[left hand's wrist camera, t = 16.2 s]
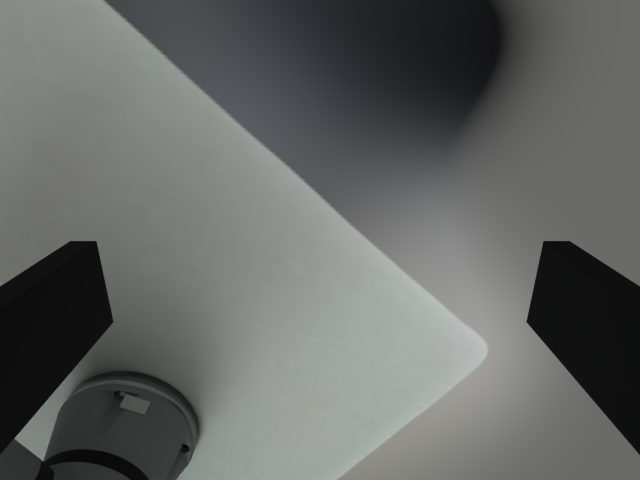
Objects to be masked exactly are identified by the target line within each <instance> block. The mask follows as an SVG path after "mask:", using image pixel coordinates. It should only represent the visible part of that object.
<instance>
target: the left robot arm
mask: <svg viewBox="0 0 640 480" xmlns="http://www.w3.org/2000/svg"><path fill="white" fill-rule="evenodd" d="M112 323H113V318H112V313H111V308H110V304H109V299H108V294H107V289H106V285H105V280H104V275H103V270H102V266H101V261H100V256H99V251H98V246H97V242H96V241H70V242H68V243H67V244H65V245H64V246H62V247H61V248H59V249H57V250H56V251H54V252H53V253H51V254H50V255H48V256H47V257H45V258H44V259H42V260H40V261H39V262H37V263H36V264H34V265H33V266H31V267H30V268H28V269H27V270H25V271H24V272H22V273H20V274H19V275H17V276H16V277H14V278H13V279H11V280H10V281H8V282H7V283H5V284H3V285H2V286H0V480H176V479H177V478H178V476H179V475H180V474H181V473H182V471H183V470H184V469H185V468H186V467H187V465H188V464H189V462H190V460H191V458H192V455H193V452H194V449H195V447H196V444H197V440H198V434H199V427H198V421H197V418H196V415H195V413H194V411H193V409H192V408H191V406H190V405H189V403H188V402H187V401H186V400H185V398H184V397H183V396H182V395H180V394H179V393H178V392H177V391H176V390H175V389H173V388H172V387H170V386H169V385H167V384H165V383H163V382H161V381H159V380H157V379H154V378H152V377H149V376H145V375H141V374H137V373H130V372H114V373H107V374H102V375H98V376H95V377H93V378H91V379H89V380H87V381H85V382H84V383H82V384H81V385H80V386H78V387H77V388H76V389H75V390H74V392H73V393H72V394H71V395H70V397H69V398H68V399H67V400H66V402H65V403H64V404H63V406H62V407H61V409H60V411H59V413H58V416H57V420H56V423H55V426H54V429H53V433H52V436H51V439H50V442H49V445H48V448H47V452H46V455H45V458H44V461H41V459H39V458H38V457H37V456H36V455H34V454H33V453H32V452H30V451H29V450H28V449H27V448H25V447H24V446H23V445H21V444H20V443H19V442H18V441H16V440H15V439H14V438H15V437H16V436H17V435H18V433H19V432H20V431H21V430H22V429H23V428H24V426H25V425H26V424H27V423H28V422H29V420H30V419H31V418H32V417H33V416H34V415H35V413H36V412H37V411H38V410H39V409H40V408H41V406H42V405H43V404H44V403H45V402H46V401H47V399H48V398H49V397H50V396H51V395H52V393H53V392H54V391H55V390H56V389H57V388H58V386H59V385H60V384H61V383H62V382H63V381H64V379H65V378H66V377H67V376H68V375H69V374H70V372H71V371H72V370H73V369H74V368H75V367H76V365H77V364H78V363H79V362H80V361H81V359H82V358H83V357H84V356H85V355H86V354H87V352H88V351H89V350H90V349H91V348H92V347H93V345H94V344H95V343H96V342H97V341H98V340H99V338H100V337H101V336H102V335H103V334H104V332H105V331H106V330H107V329H108V328H109V327H110V325H111V324H112ZM527 323H528V324H529V325H530V327H531V328H532V329H533V330H534V331H535V332H536V334H537V335H538V336H539V337H540V338H541V340H542V341H543V342H544V343H545V344H546V345H547V347H548V348H549V349H550V350H551V351H552V352H553V354H554V355H555V356H556V357H557V358H558V359H559V361H560V362H561V363H562V364H563V365H564V366H565V368H566V369H567V370H568V371H569V372H570V373H571V375H572V376H573V377H574V378H575V379H576V381H577V382H578V383H579V384H580V385H581V386H582V388H583V389H584V390H585V391H586V392H587V393H588V395H589V396H590V397H591V398H592V399H593V401H594V402H595V403H596V404H597V405H598V406H599V408H600V409H601V410H602V411H603V412H604V413H605V415H606V416H607V417H608V418H609V419H610V420H611V422H612V423H613V424H614V425H615V426H616V428H617V429H618V430H619V431H620V432H621V433H622V435H623V436H624V437H625V438H626V439H627V440H628V442H629V443H630V444H631V445H632V446H633V447H634V449H635V450H636V451H637V452H638V453H639V455H640V286H638V285H637V284H635V283H633V282H632V281H630V280H629V279H627V278H626V277H624V276H623V275H621V274H620V273H618V272H616V271H615V270H613V269H612V268H610V267H609V266H607V265H606V264H604V263H603V262H601V261H600V260H598V259H596V258H595V257H593V256H592V255H590V254H589V253H587V252H586V251H584V250H582V249H581V248H579V247H578V246H576V245H575V244H573V243H572V242H570V241H544V242H543V246H542V251H541V256H540V261H539V266H538V270H537V275H536V280H535V285H534V289H533V294H532V299H531V304H530V309H529V313H528V318H527Z"/></svg>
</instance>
